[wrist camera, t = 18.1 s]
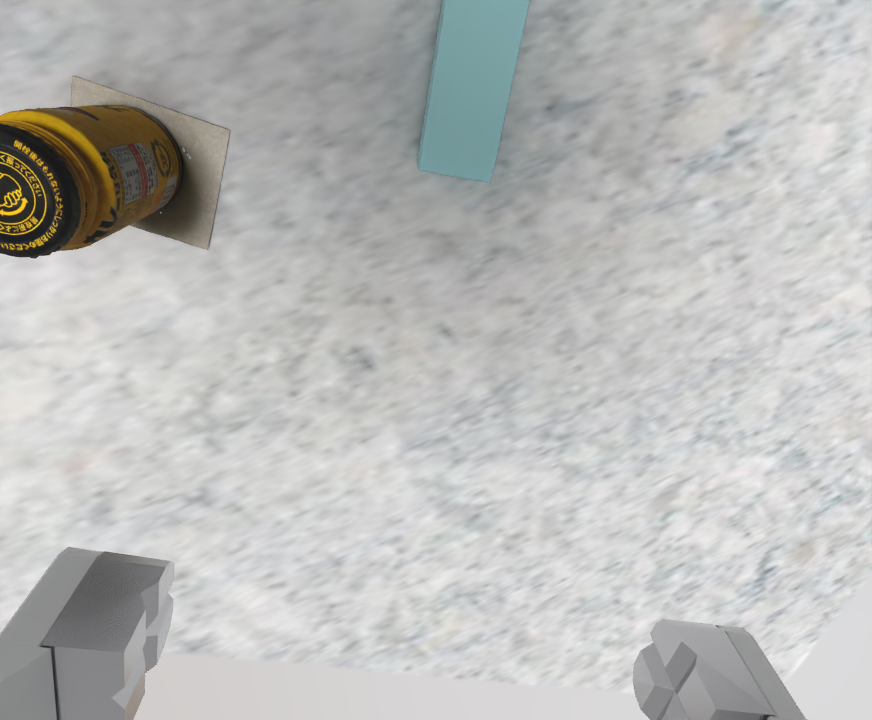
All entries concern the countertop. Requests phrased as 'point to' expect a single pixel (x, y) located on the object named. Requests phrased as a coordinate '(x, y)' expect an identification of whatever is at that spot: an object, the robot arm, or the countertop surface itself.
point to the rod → (470, 86)
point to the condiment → (105, 172)
